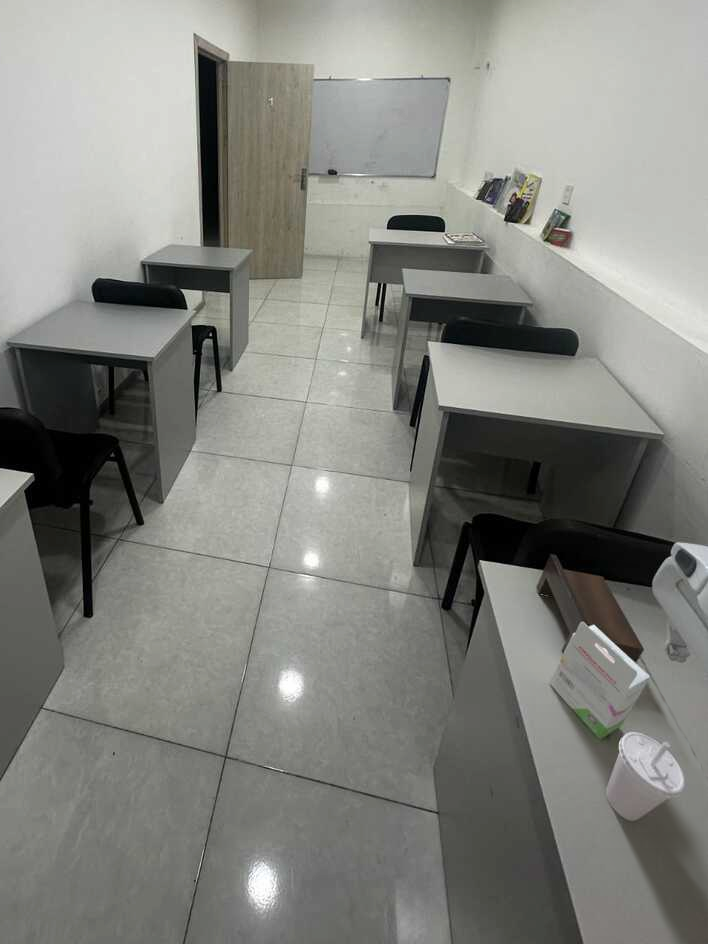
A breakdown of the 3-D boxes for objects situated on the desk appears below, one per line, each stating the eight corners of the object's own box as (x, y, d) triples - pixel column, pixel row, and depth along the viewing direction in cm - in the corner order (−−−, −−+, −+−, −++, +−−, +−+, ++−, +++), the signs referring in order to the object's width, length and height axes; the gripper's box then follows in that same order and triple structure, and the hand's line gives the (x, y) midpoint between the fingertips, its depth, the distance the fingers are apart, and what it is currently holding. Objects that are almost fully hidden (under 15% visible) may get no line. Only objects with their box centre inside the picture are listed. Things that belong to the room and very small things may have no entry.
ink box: (621, 728, 71) (663, 664, 65) (599, 741, 69) (639, 676, 63) (568, 671, 78) (601, 608, 72) (546, 681, 76) (578, 618, 70)
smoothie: (588, 800, 62) (629, 738, 57) (600, 760, 67) (639, 699, 61) (648, 849, 58) (699, 788, 53) (656, 803, 63) (704, 742, 57)
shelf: (591, 599, 91) (608, 564, 87) (629, 673, 78) (652, 636, 75) (535, 588, 92) (550, 553, 89) (564, 659, 80) (583, 622, 76)
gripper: (905, 737, 38) (810, 825, 44) (724, 542, 57) (674, 621, 62) (814, 717, 39) (733, 806, 44) (666, 531, 57) (621, 610, 63)
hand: (697, 697), depth 53 cm, fingers open, 8 cm apart
